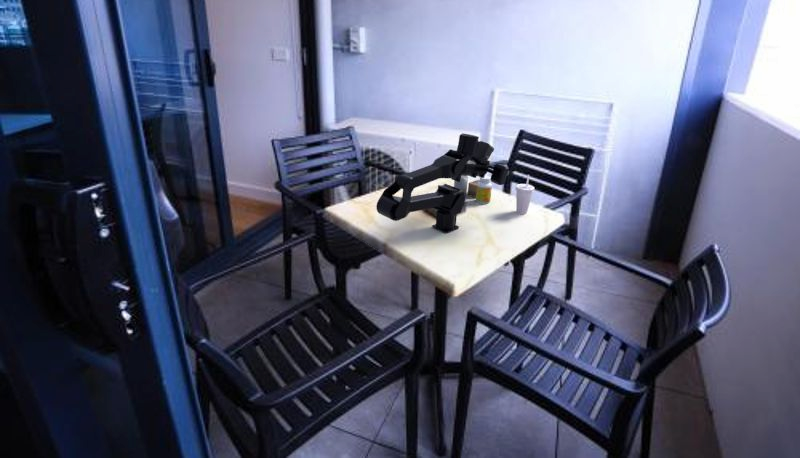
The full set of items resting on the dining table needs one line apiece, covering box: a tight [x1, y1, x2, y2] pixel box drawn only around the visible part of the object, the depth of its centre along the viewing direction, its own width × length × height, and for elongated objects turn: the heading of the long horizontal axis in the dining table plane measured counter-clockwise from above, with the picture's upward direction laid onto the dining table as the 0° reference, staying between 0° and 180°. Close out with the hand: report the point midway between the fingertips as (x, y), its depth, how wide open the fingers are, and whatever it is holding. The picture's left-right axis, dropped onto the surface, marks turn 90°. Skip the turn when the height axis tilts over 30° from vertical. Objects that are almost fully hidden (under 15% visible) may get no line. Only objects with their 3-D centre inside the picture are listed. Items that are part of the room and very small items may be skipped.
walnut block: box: [467, 179, 480, 199], centre depth 183 cm, size 6×5×5 cm
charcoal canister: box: [453, 176, 469, 199], centre depth 180 cm, size 5×5×8 cm
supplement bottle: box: [475, 175, 493, 205], centre depth 176 cm, size 5×5×10 cm
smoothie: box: [515, 174, 535, 215], centre depth 166 cm, size 6×6×14 cm
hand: (498, 168), depth 164 cm, fingers open, 9 cm apart
